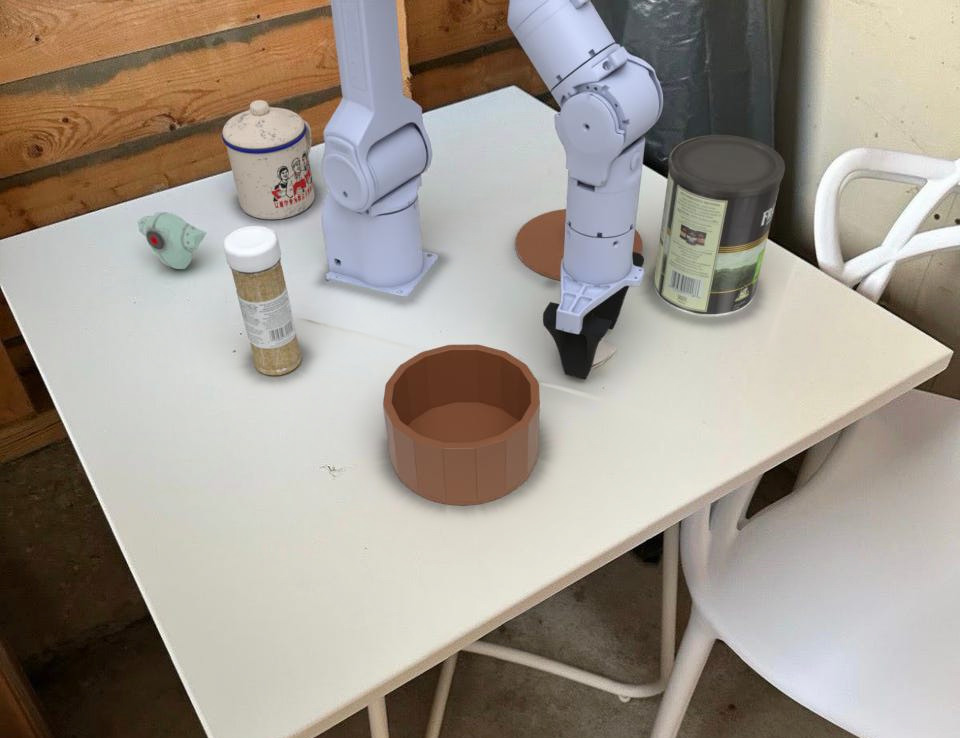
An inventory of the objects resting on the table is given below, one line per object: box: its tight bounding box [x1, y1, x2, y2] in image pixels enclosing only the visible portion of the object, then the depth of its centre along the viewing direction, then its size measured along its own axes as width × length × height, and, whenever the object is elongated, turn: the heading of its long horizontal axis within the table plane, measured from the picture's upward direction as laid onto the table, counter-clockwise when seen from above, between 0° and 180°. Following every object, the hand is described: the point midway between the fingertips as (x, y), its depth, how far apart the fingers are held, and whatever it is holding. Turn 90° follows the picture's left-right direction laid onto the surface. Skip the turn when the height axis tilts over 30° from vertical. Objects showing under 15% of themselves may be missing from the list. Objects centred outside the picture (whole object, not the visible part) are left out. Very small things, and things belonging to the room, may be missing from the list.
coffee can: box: [653, 134, 786, 317], centre depth 89 cm, size 10×10×14 cm
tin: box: [382, 343, 541, 506], centre depth 76 cm, size 12×12×6 cm
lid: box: [515, 208, 643, 281], centre depth 97 cm, size 13×13×4 cm
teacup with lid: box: [221, 99, 316, 220], centre depth 104 cm, size 12×9×12 cm
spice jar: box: [222, 225, 303, 376], centre depth 82 cm, size 5×5×13 cm
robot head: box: [137, 211, 207, 270], centre depth 96 cm, size 8×4×7 cm, turn 65°
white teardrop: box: [591, 339, 617, 370], centre depth 85 cm, size 4×5×2 cm
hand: (590, 349), depth 85 cm, fingers open, 7 cm apart
